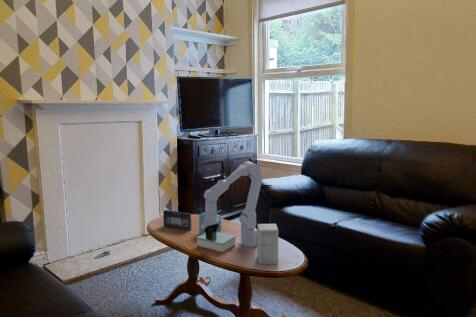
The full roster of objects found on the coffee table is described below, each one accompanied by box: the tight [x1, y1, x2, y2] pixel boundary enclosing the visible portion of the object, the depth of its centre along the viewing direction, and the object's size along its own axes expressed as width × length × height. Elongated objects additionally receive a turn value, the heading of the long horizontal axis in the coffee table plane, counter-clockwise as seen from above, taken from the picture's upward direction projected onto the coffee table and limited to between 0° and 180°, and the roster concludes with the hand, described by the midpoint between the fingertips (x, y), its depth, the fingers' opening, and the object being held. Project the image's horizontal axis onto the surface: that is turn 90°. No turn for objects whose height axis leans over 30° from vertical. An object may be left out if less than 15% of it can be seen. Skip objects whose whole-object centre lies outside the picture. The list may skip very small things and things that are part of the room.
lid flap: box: [196, 231, 237, 245], centre depth 197 cm, size 16×12×5 cm
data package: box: [198, 212, 222, 235], centre depth 214 cm, size 12×4×12 cm, turn 63°
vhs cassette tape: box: [162, 209, 192, 232], centre depth 225 cm, size 18×3×10 cm, turn 64°
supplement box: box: [256, 223, 279, 265], centre depth 180 cm, size 10×9×17 cm
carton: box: [196, 238, 236, 254], centre depth 198 cm, size 16×12×4 cm
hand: (211, 238), depth 194 cm, fingers closed on lid flap, 2 cm apart
